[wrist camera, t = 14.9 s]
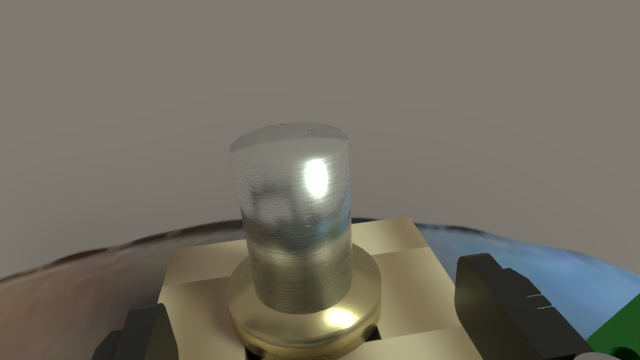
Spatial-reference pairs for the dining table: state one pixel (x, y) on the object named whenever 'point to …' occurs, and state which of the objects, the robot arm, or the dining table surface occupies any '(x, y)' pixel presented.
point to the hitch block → (396, 294)
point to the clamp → (620, 333)
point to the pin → (299, 247)
